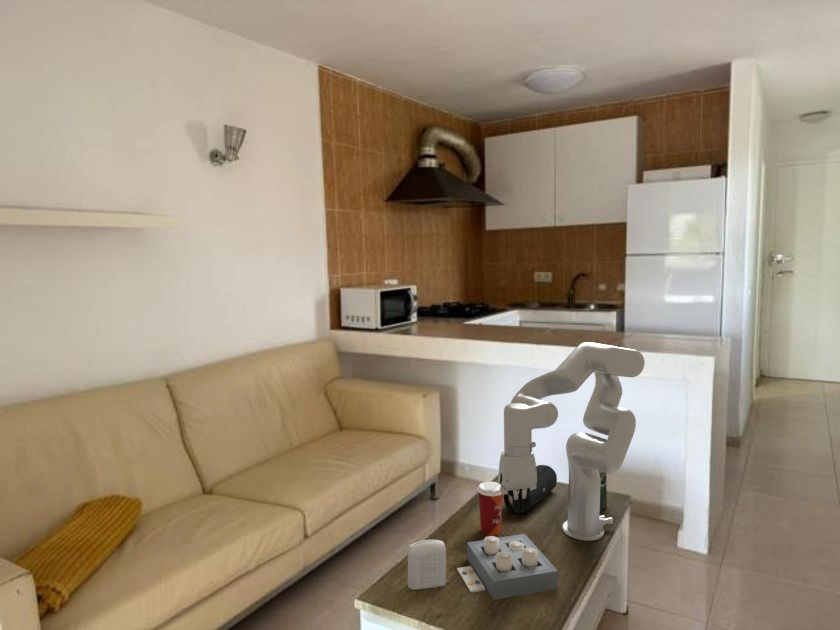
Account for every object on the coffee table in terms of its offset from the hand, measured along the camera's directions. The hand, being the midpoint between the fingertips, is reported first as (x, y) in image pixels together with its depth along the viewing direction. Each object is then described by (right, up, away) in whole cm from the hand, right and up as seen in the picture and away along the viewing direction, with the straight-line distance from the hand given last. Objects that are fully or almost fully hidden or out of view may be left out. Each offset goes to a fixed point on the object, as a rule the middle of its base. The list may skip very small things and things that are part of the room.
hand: (518, 510), depth 160 cm
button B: (+2, -13, -7) cm, 15 cm away
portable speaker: (+12, -11, +41) cm, 44 cm away
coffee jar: (+32, -11, +36) cm, 49 cm away
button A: (0, -15, +1) cm, 15 cm away
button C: (-8, -12, -1) cm, 15 cm away
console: (-3, -16, -3) cm, 17 cm away
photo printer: (-26, -17, -9) cm, 32 cm away
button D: (-5, -13, -9) cm, 17 cm away
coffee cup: (-5, -13, +20) cm, 24 cm away
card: (-14, -16, -6) cm, 22 cm away
